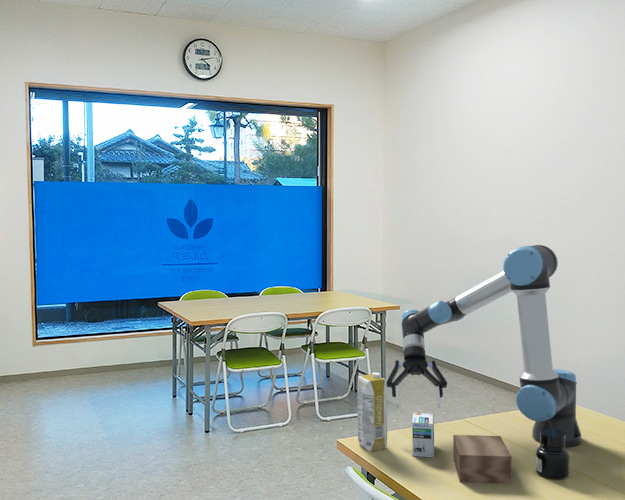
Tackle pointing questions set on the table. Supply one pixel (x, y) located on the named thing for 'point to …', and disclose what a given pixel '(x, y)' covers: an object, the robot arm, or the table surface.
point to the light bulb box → (423, 434)
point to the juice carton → (372, 411)
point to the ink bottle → (552, 455)
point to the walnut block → (481, 459)
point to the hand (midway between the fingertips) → (418, 405)
